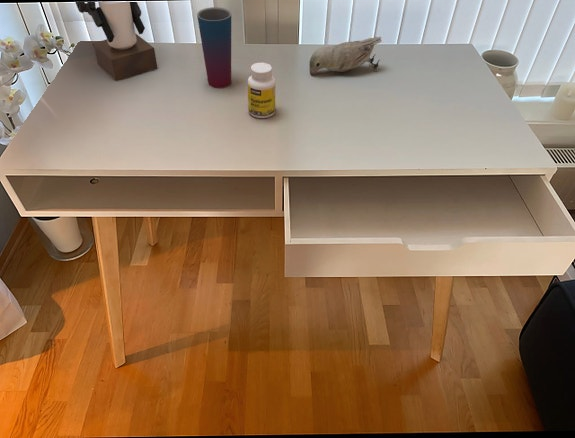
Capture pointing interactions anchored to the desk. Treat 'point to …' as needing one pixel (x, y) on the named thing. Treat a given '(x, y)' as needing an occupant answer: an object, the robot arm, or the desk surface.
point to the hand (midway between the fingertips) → (127, 35)
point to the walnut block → (126, 59)
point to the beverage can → (119, 23)
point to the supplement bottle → (261, 91)
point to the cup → (216, 44)
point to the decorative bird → (344, 55)
